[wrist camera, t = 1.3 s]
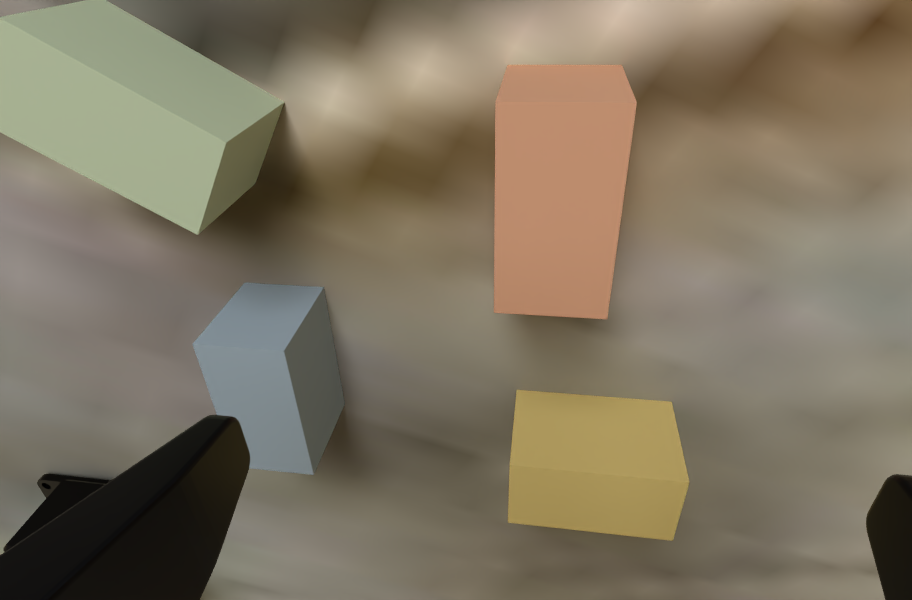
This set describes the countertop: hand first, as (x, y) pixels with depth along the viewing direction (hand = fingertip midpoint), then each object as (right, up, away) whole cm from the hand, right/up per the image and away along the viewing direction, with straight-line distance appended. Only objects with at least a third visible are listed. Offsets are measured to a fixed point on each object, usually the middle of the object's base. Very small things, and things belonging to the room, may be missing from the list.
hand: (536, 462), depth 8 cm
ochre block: (+4, -3, +16) cm, 17 cm away
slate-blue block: (-8, +1, +16) cm, 18 cm away
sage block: (-10, +9, +11) cm, 17 cm away
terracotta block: (+2, +7, +10) cm, 12 cm away
